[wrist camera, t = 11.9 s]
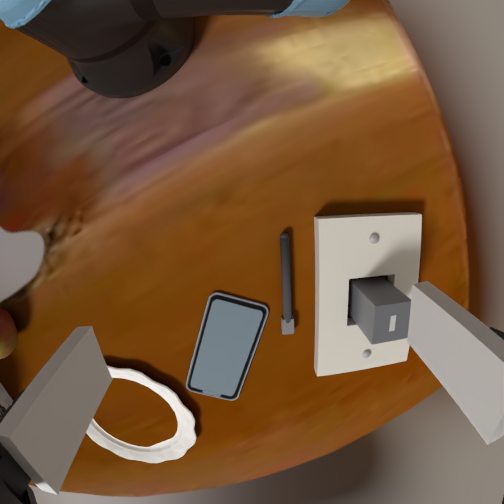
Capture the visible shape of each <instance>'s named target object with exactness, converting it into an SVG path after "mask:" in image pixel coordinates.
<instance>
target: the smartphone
mask: <svg viewBox="0 0 504 504" xmlns="http://www.w3.org/2000/svg"><path fill="white" fill-rule="evenodd" d="M267 316H268V308H267V307H266V306H265V305H264V304H261V303H257V302H253V301H250V300H246V299H242V298H238V297H235V296H231V295H227V294H224V293H220V292H214V293H212V294H211V295H210V296H209V299H208V302H207V306H206V309H205V313H204V317H203V321H202V324H201V328H200V332H199V335H198V339H197V343H196V347H195V350H194V354H193V357H192V360H191V364H190V370H189V374H188V377H187V381H186V387H187V389H188V390H190V391H192V392H196V393H200V394H204V395H208V396H212V397H217V398H221V399H226V400H235V399H237V398H238V396H239V394H240V391H241V388H242V386H243V383H244V380H245V378H246V375H247V372H248V369H249V367H250V364H251V361H252V358H253V356H254V353H255V350H256V347H257V345H258V342H259V339H260V336H261V333H262V331H263V328H264V325H265V322H266V319H267Z"/></svg>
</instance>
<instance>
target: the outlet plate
mask: <svg viewBox="0 0 504 504" xmlns="http://www.w3.org/2000/svg"><path fill="white" fill-rule="evenodd" d="M314 228H315V355H314V369H315V372H316V375H317V376H324V375H331V374H338V373H344V372H351V371H356V370H362V369H368V368H373V367H378V366H383V365H388V364H393V363H398V362H402V361H407V356H408V350H409V343H408V342H407V338H405V339H400V340H395V341H390V342H384V343H378V344H373V345H372V344H371V343H370V342H369V340H368V339H367V337H366V336H365V335H364V333H363V332H362V331H361V329H360V328H359V327H358V325H357V324H356V322H355V321H354V320H353V318H347V314H348V292H349V279H354V278H364V277H373V276H383V275H388V280H387V281H388V282H390V283H391V284H392V285H393V286H395V287H396V288H397V289H398V290H400V291H401V292H402V293H404V294H405V295H406V296H407V297H409V298H410V299H411V296H412V284H416V283H418V277H419V265H420V250H421V229H422V214H419V213H415V212H404V213H377V214H354V215H334V216H315V217H314Z"/></svg>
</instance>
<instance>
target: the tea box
mask: <svg viewBox="0 0 504 504" xmlns="http://www.w3.org/2000/svg"><path fill="white" fill-rule="evenodd" d="M12 402H13V400H12V398H11V397H10V395H9V394H8V393H7V391H6V390H5V388H4V387H3V385H2V384H1V383H0V418H1V417H2V415H3V414H4V412H7V408H8V407H9V406H10V405H12Z"/></svg>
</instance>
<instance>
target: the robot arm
mask: <svg viewBox="0 0 504 504" xmlns="http://www.w3.org/2000/svg"><path fill="white" fill-rule="evenodd" d="M349 1H350V0H0V19H1V20H3V21H4V23H5V25H6V26H7V27H9V28H14V29H17V30H19V31H20V32H22V33H24V34H26V35H28V36H30V37H32V38H34V39H36V40H37V41H39V42H41V43H43V44H45V45H47V46H48V47H50V48H52V49H54V50H55V51H57V52H59V53H61V54H62V55H64V56H66V57H67V59H68V62H69V64H70V66H71V68H72V70H73V72H74V74H75V76H76V77H77V79H78V80H79V81H80V82H81V83H82V84H83V85H84V86H85V87H87V88H88V89H90V90H92V91H94V92H96V93H97V94H100V95H102V96H105V97H110V98H129V97H134V96H138V95H141V94H144V93H146V92H149V91H151V90H153V89H155V88H156V87H158V86H160V85H161V84H163V83H164V82H166V81H167V80H168V79H169V78H171V77H172V76H173V75H174V74H175V73H176V72H177V71H178V70H179V68H180V67H181V66H182V65H183V63H184V62H185V60H186V59H187V57H188V55H189V53H190V51H191V48H192V46H193V42H194V36H195V26H194V21H193V17H192V16H210V15H264V16H269V17H270V18H280V17H283V16H304V17H324V16H328V15H331V14H333V13H334V12H336V11H338V10H339V9H341V8H343V7H344V6H345V5H346V4H347V3H348V2H349ZM407 342H408V343H409V345H410V346H411V347H412V348H413V349H414V351H415V352H416V353H417V354H418V355H419V357H420V358H421V359H422V360H423V362H424V363H425V364H426V365H427V366H428V368H429V369H430V370H431V371H432V373H433V374H434V375H435V376H436V378H437V379H438V380H439V381H440V383H441V384H442V385H443V386H444V388H445V389H446V390H447V392H448V393H449V394H450V395H451V397H452V398H453V399H454V401H455V402H456V403H457V404H458V406H459V407H460V408H461V410H462V411H463V412H464V414H465V415H466V416H467V418H468V419H469V420H470V422H471V423H472V424H473V426H474V427H475V428H476V430H477V431H478V433H479V434H480V435H481V437H482V438H483V439H484V441H485V442H486V444H487V445H488V444H490V443H492V442H494V441H495V440H497V439H498V438H500V437H502V436H504V332H501V331H499V330H497V329H494V328H492V327H491V328H488V327H487V326H486V325H484V324H483V323H482V322H481V321H480V320H478V319H477V318H475V317H474V316H473V315H472V314H471V313H469V312H468V311H467V310H465V309H464V308H463V307H462V306H460V305H459V304H458V303H456V302H455V301H454V300H452V299H451V298H450V297H448V296H447V295H446V294H444V293H443V292H442V291H440V290H439V289H438V288H436V287H435V286H433V285H432V284H431V283H429V282H428V281H426V282H421V283H416V284H412V296H411V309H410V319H409V328H408V337H407ZM111 381H112V377H111V374H110V372H109V370H108V367H107V365H106V363H105V360H104V358H103V355H102V353H101V350H100V347H99V345H98V342H97V340H96V337H95V334H94V331H93V329H92V326H83V327H76V329H75V330H74V331H73V332H72V333H71V334H70V336H69V337H68V338H67V339H66V340H65V341H64V343H63V344H62V345H61V346H60V347H59V349H58V350H57V351H56V352H55V353H54V355H53V356H52V357H51V358H50V359H49V361H48V362H47V363H46V364H45V366H44V367H43V368H42V369H41V370H40V372H39V373H38V374H37V375H36V377H35V378H34V379H33V381H32V382H31V383H30V384H29V386H28V387H27V388H26V389H24V390H23V391H22V392H21V393H19V394H18V395H17V397H16V398H15V399H14V401H13V402H12V405H10V406H9V407H8V408H7V412H4V414H3V415H2V417H1V418H0V504H37V503H36V499H35V496H34V493H33V491H32V489H31V488H30V487H29V486H28V484H29V482H30V480H32V481H33V482H34V483H35V484H36V485H37V486H38V487H39V488H40V489H41V490H44V491H47V492H50V493H53V494H57V495H58V493H59V491H60V489H61V486H62V484H63V482H64V479H65V477H66V475H67V472H68V470H69V468H70V466H71V463H72V461H73V459H74V457H75V455H76V452H77V450H78V448H79V446H80V444H81V442H82V440H83V437H84V435H85V433H86V431H87V429H88V427H89V425H90V423H91V421H92V419H93V417H94V415H95V412H96V410H97V408H98V406H99V404H100V402H101V400H102V398H103V396H104V394H105V392H106V390H107V389H108V387H109V385H110V383H111ZM502 504H504V497H503V501H502Z"/></svg>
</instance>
